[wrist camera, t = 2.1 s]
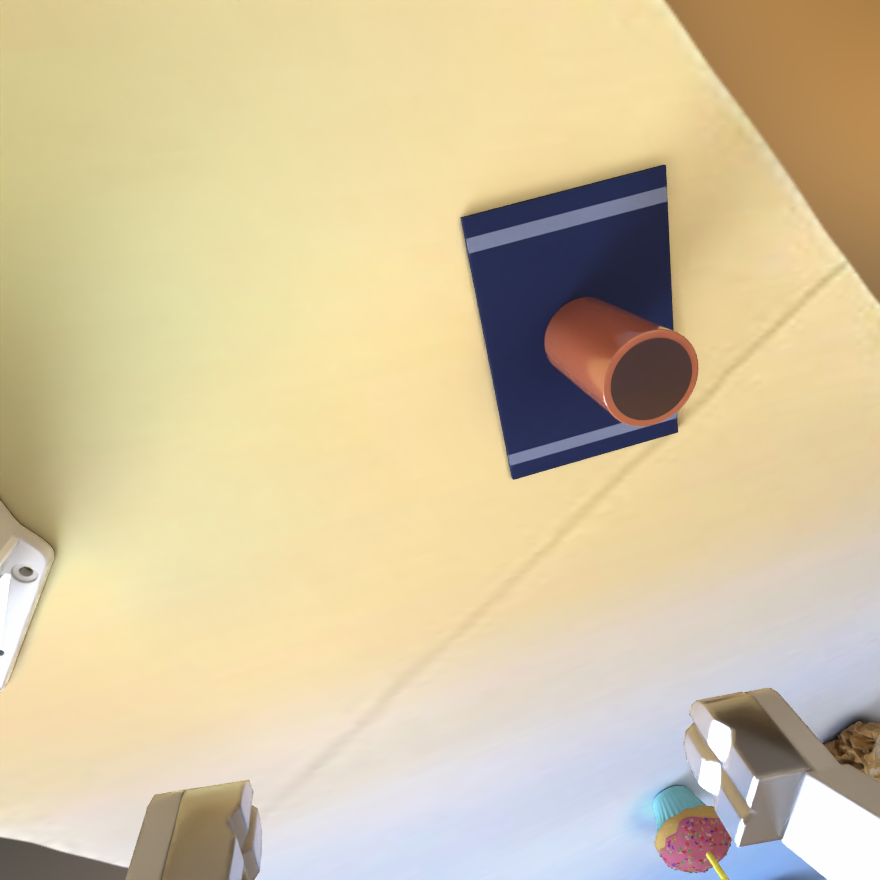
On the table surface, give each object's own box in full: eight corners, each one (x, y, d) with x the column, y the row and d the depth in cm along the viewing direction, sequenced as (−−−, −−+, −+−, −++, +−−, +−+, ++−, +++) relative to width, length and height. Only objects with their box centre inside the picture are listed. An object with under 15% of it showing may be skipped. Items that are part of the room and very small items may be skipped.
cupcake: (644, 780, 65) (705, 898, 54) (712, 768, 66) (785, 882, 56) (633, 827, 69) (689, 948, 58) (698, 815, 70) (765, 931, 59)
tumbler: (600, 384, 43) (671, 436, 34) (532, 364, 42) (587, 414, 33) (633, 309, 41) (717, 345, 32) (562, 286, 40) (630, 317, 31)
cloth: (675, 430, 47) (678, 432, 46) (511, 477, 46) (513, 480, 45) (663, 164, 38) (666, 164, 37) (460, 217, 37) (461, 217, 37)
